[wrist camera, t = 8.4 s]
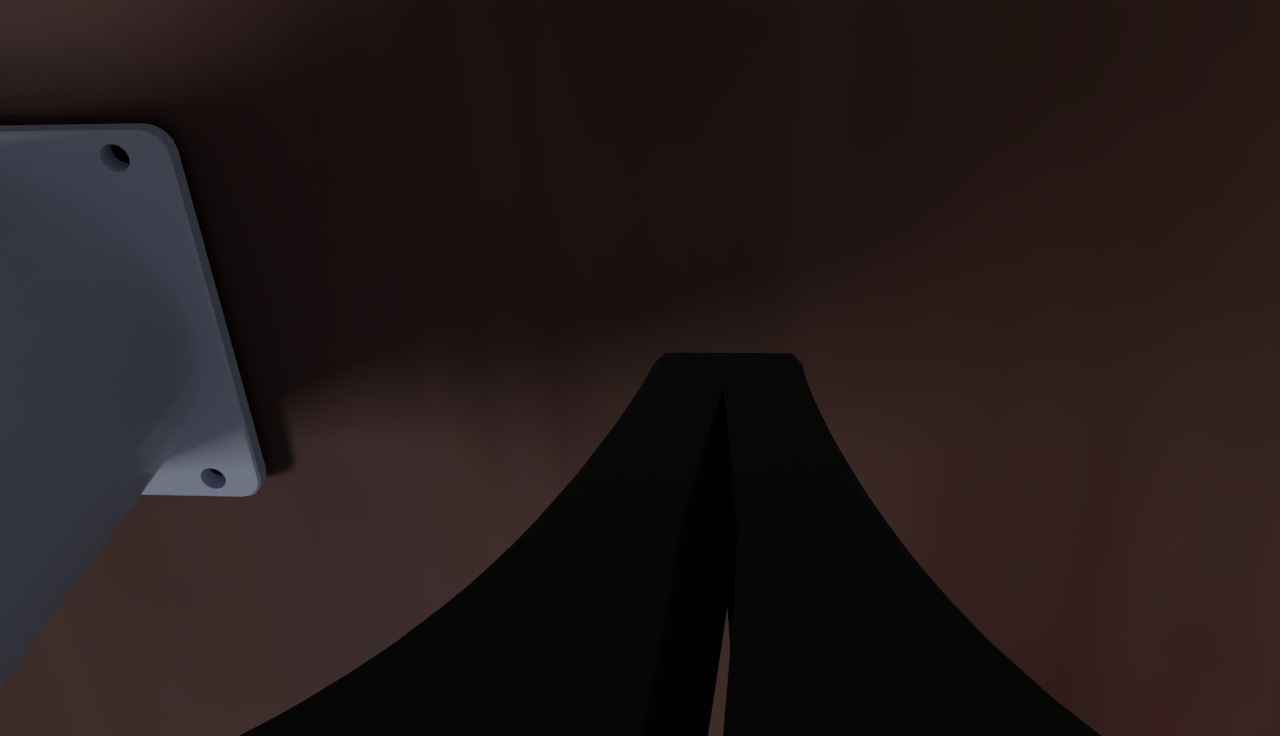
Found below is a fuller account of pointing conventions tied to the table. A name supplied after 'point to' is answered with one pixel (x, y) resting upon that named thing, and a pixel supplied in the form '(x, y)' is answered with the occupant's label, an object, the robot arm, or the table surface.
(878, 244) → the table surface
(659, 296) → the table surface
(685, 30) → the table surface
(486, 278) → the table surface
